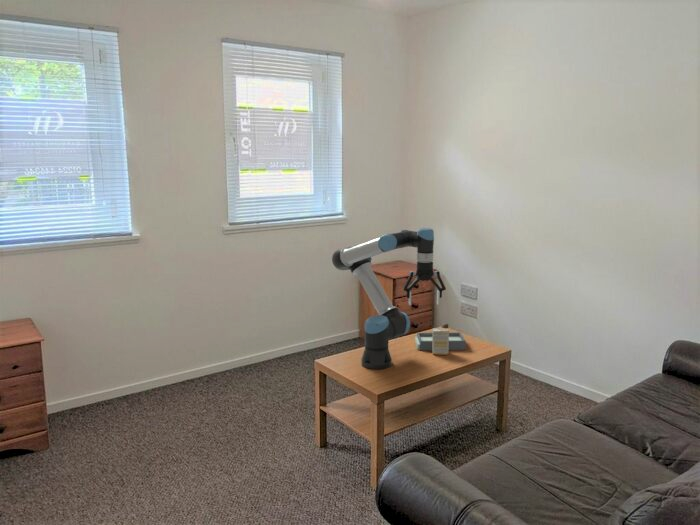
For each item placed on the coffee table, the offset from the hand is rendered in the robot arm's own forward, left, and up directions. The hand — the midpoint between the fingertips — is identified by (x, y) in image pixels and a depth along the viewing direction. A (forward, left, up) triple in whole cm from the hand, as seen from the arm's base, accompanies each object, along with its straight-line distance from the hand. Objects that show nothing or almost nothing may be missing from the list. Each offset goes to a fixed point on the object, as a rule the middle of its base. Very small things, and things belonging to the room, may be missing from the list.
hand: (423, 304), depth 264 cm
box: (+14, +29, -31) cm, 45 cm away
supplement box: (+11, +17, -32) cm, 38 cm away
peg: (+16, +29, -31) cm, 45 cm away
